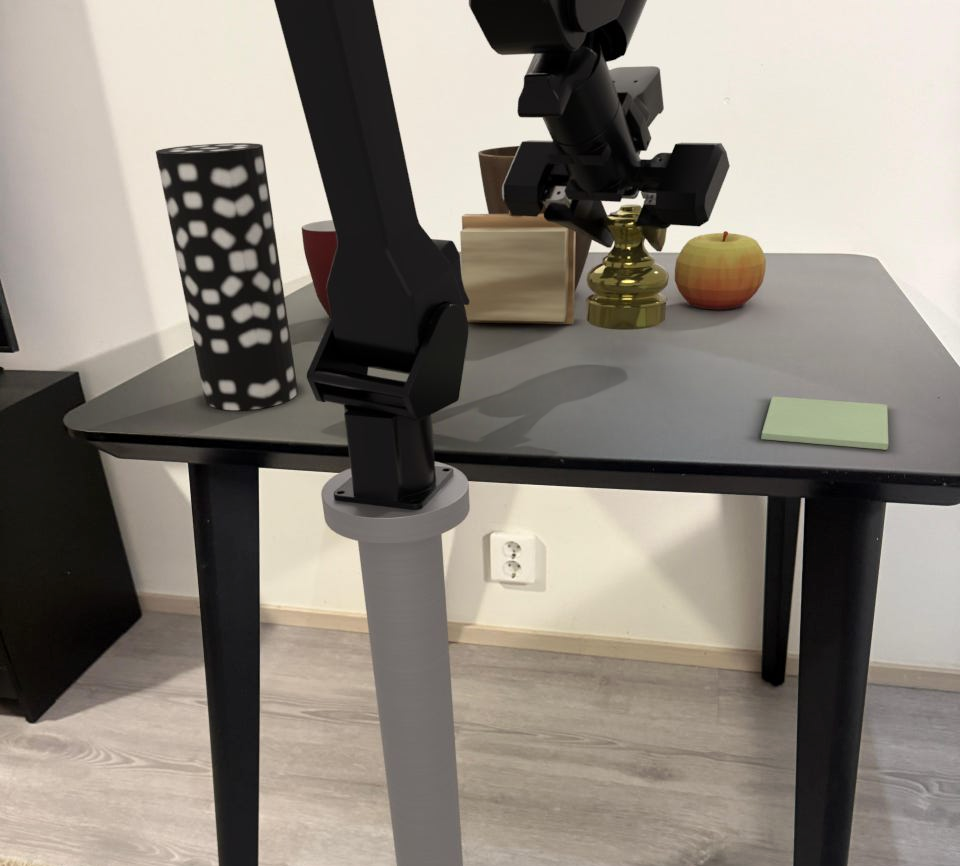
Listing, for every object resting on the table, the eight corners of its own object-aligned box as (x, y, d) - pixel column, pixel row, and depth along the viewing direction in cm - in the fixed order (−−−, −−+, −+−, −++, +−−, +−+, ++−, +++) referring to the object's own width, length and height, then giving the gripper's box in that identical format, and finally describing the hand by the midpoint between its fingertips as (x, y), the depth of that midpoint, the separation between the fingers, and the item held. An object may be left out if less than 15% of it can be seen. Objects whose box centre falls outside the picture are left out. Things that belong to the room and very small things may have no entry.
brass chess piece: (600, 312, 91) (604, 200, 86) (674, 316, 88) (683, 201, 83) (574, 328, 85) (577, 209, 80) (653, 333, 82) (661, 211, 77)
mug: (412, 312, 109) (406, 220, 103) (385, 329, 102) (377, 232, 97) (332, 308, 112) (321, 218, 106) (300, 325, 105) (287, 230, 100)
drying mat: (887, 450, 68) (888, 443, 68) (761, 439, 70) (761, 433, 70) (886, 410, 75) (887, 404, 75) (771, 402, 78) (772, 396, 77)
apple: (719, 320, 100) (727, 241, 96) (654, 305, 107) (659, 231, 103) (777, 305, 105) (788, 229, 101) (712, 291, 112) (719, 220, 108)
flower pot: (457, 297, 114) (451, 152, 105) (543, 277, 122) (543, 140, 113) (543, 317, 104) (543, 158, 96) (629, 293, 113) (637, 145, 104)
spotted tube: (188, 408, 82) (134, 154, 71) (231, 379, 88) (188, 144, 78) (274, 412, 80) (233, 152, 69) (311, 383, 87) (279, 142, 76)
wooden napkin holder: (568, 331, 99) (570, 187, 91) (459, 329, 101) (453, 188, 94) (574, 320, 103) (577, 181, 95) (469, 318, 105) (464, 182, 97)
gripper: (735, 19, 67) (765, 172, 81) (517, 30, 76) (577, 166, 90) (683, 150, 66) (722, 283, 80) (467, 146, 75) (536, 266, 88)
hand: (636, 245), depth 84 cm, fingers closed on brass chess piece, 5 cm apart
